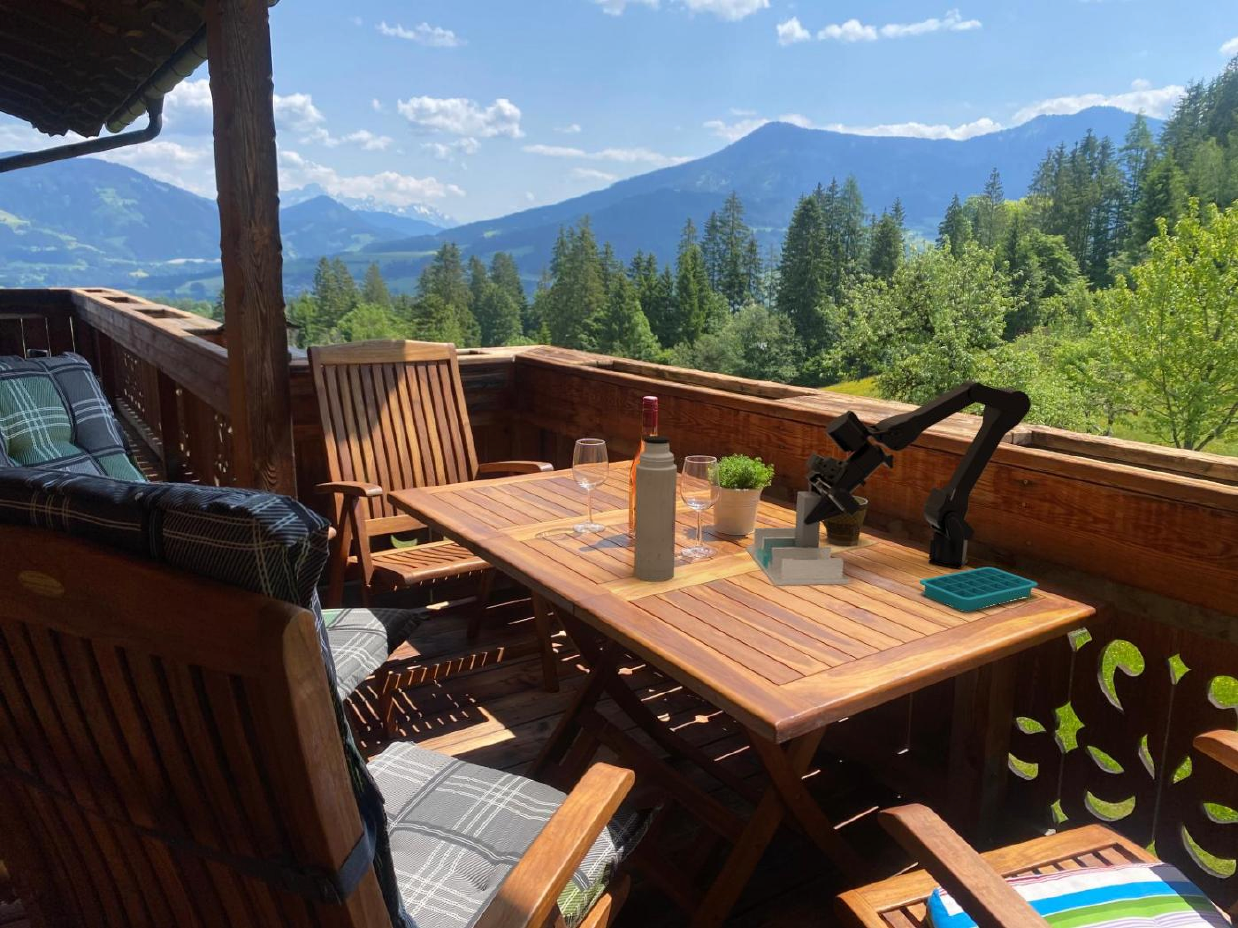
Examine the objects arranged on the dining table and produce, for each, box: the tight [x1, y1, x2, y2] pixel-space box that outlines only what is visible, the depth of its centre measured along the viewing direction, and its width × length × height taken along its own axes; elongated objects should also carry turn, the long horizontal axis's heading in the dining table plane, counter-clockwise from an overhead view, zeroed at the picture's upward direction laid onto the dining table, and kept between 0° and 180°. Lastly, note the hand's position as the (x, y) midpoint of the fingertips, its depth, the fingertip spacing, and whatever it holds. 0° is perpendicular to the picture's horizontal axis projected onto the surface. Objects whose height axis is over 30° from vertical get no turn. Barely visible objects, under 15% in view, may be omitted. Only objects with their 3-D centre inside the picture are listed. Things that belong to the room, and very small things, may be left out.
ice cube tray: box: [919, 566, 1039, 612], centre depth 162 cm, size 12×20×3 cm, turn 118°
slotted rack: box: [746, 526, 851, 586], centre depth 178 cm, size 15×23×5 cm, turn 5°
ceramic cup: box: [820, 495, 869, 547], centre depth 195 cm, size 13×10×10 cm
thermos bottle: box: [633, 435, 678, 582], centre depth 168 cm, size 8×8×28 cm
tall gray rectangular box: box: [794, 491, 821, 547], centre depth 176 cm, size 4×5×12 cm
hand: (801, 520), depth 176 cm, fingers closed on tall gray rectangular box, 5 cm apart
